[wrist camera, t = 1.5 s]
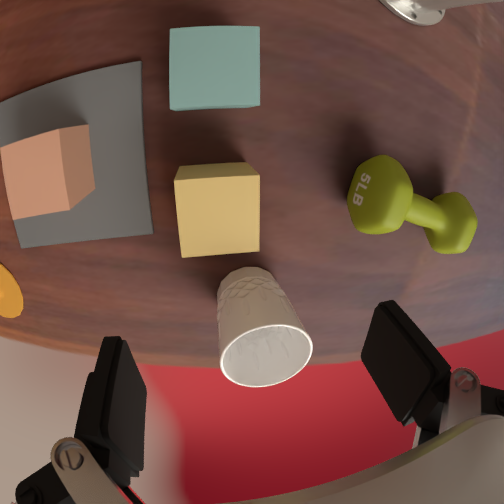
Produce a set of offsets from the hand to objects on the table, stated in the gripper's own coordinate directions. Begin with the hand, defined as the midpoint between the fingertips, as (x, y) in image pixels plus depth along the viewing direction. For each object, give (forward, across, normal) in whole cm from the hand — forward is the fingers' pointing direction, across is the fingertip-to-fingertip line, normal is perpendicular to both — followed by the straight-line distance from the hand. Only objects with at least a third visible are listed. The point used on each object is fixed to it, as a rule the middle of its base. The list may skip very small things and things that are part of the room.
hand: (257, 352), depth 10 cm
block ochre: (+19, 0, 0) cm, 19 cm away
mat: (+18, +14, -6) cm, 24 cm away
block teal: (+19, 0, -12) cm, 22 cm away
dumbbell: (+19, -21, +1) cm, 28 cm away
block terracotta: (+18, +14, -6) cm, 24 cm away
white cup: (+19, -2, +10) cm, 22 cm away
